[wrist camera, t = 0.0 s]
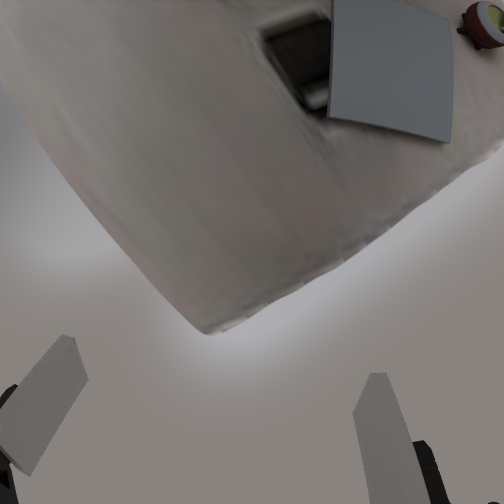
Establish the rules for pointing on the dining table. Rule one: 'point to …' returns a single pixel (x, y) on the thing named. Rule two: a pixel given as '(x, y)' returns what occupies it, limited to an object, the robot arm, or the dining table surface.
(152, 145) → the dining table surface
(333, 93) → the riser
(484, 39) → the mate gourd
